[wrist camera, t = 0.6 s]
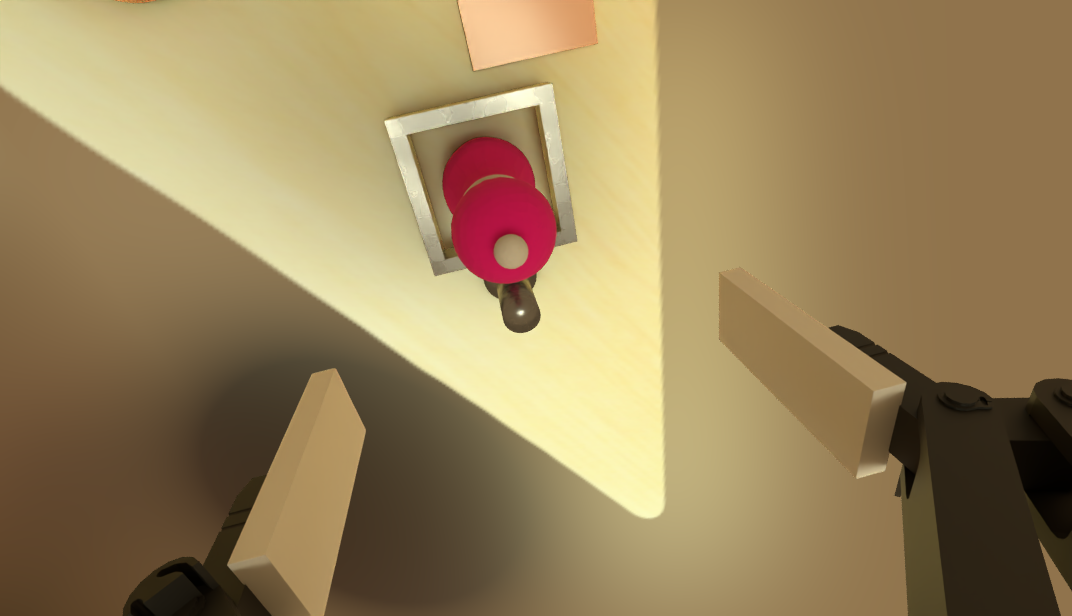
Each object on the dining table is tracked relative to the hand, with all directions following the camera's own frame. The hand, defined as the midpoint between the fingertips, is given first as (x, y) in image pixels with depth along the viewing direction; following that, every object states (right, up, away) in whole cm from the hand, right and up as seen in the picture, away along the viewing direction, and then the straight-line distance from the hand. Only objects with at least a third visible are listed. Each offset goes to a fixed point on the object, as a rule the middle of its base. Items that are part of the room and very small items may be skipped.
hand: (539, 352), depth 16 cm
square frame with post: (-4, +11, +26) cm, 29 cm away
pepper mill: (-4, +13, +25) cm, 29 cm away
